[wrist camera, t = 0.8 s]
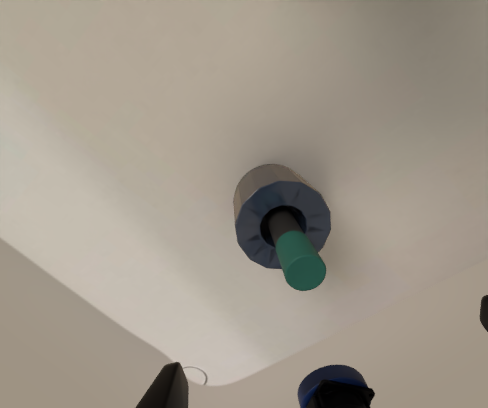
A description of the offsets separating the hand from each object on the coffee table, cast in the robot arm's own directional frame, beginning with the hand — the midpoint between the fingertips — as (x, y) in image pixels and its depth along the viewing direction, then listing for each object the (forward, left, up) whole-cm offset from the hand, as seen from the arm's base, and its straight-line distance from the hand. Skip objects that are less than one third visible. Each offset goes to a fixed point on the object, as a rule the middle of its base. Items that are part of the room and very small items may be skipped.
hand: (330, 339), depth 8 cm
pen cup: (0, 0, -13) cm, 13 cm away
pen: (0, 0, -12) cm, 12 cm away
